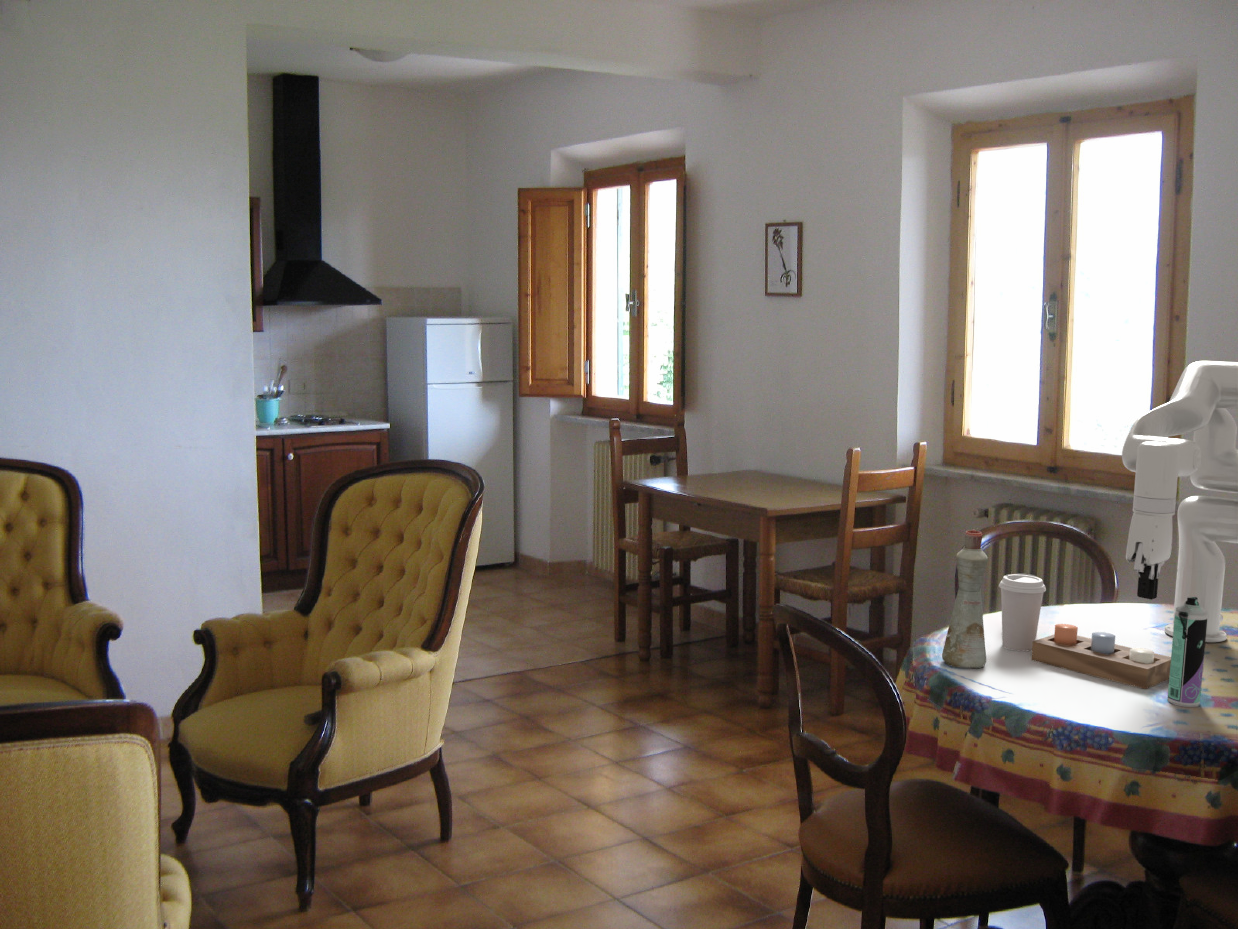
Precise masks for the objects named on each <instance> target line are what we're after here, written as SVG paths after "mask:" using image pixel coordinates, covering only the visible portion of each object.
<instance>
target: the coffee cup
mask: <svg viewBox="0 0 1238 929" xmlns="http://www.w3.org/2000/svg"><path fill="white" fill-rule="evenodd" d="M1019 574H1020V573H1014V574H1012V573H1011V574H1006V575H1003V578H1002V580H1001V581H1000V582H999V584H998V587H999V589H1000V593H1001V594H1000V597H1001V598H1000V599H1001V600H1000V601H1001V602H1000V603H1001V634H1002V636H1001V638H1002V641H1001V642H1002V647H1003V648H1005V649H1007V650H1011V651H1017V652H1019V651H1020V652H1029V651H1030V652H1032V642H1033V641H1035V640H1037V633H1038V626H1039V621H1040V615H1041V607H1042V602H1043V597H1044V593H1045V592H1046V591H1047V588H1046V585H1045V584H1044V581H1043V579H1042V578H1040V577H1038V576H1036V575H1034V576H1029V575H1019ZM1035 576H1036V577H1035Z"/></svg>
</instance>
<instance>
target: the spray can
mask: <svg viewBox="0 0 1238 929" xmlns="http://www.w3.org/2000/svg"><path fill="white" fill-rule="evenodd" d="M1197 600H1198V598H1197V597H1190V598H1187V601H1186V602H1185V603H1184V605H1182V606H1180V607H1177V608H1176V612H1175V618H1174V630H1173V636H1172V642H1171V652H1170V654H1171V655H1170V657H1171V665H1170V676H1169V680H1168V688H1167V689H1168V690H1167V701H1168V702H1169V703H1170V704H1173V705H1175V706H1180V707H1185V708H1186V707H1187V708H1196V707H1199V706H1200V704H1201V694H1202V682H1203V672H1204V660H1205V659H1204V658H1205V649H1206V642H1205V640H1206V629H1207V618H1208V616H1207V611H1206V610H1204V609H1203V608H1202V607H1200V606H1201V605H1200V604H1199V603H1198V602H1197Z"/></svg>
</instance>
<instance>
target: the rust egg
mask: <svg viewBox="0 0 1238 929" xmlns="http://www.w3.org/2000/svg"><path fill="white" fill-rule="evenodd" d="M1078 630H1079V629H1078V626H1076V625H1073V624H1067V623H1057V624H1055V625H1054V634H1053V635H1054V642H1057V643H1061V644H1065V645H1069V646H1072V645H1075V644H1077V636H1078Z"/></svg>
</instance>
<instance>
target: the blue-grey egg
mask: <svg viewBox="0 0 1238 929" xmlns="http://www.w3.org/2000/svg"><path fill="white" fill-rule="evenodd" d="M1091 639H1092V640H1091V651H1095V652H1099V653H1103V654H1107V655H1110V654H1113V653H1114V647H1115V644H1116V635H1115V634H1113V633H1109V632H1105V631H1104V632H1103V631H1098V632H1097V631H1095V632H1092V633H1091Z"/></svg>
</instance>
